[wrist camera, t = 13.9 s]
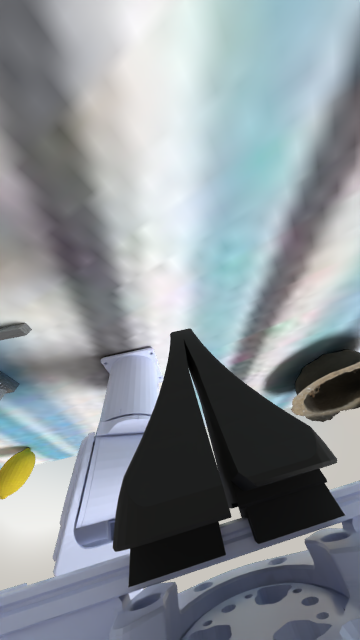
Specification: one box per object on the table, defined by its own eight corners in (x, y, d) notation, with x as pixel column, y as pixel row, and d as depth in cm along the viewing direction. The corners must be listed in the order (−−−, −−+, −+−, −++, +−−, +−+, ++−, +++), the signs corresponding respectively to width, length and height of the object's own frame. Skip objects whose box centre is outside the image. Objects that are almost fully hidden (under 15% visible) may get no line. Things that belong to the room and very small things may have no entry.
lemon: (17, 442, 33) (-13, 497, 27) (46, 444, 36) (25, 493, 30) (9, 451, 35) (-22, 505, 29) (37, 452, 38) (15, 500, 31)
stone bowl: (339, 381, 48) (371, 413, 41) (263, 394, 48) (282, 429, 40) (401, 324, 32) (471, 359, 25) (289, 343, 32) (327, 384, 25)
